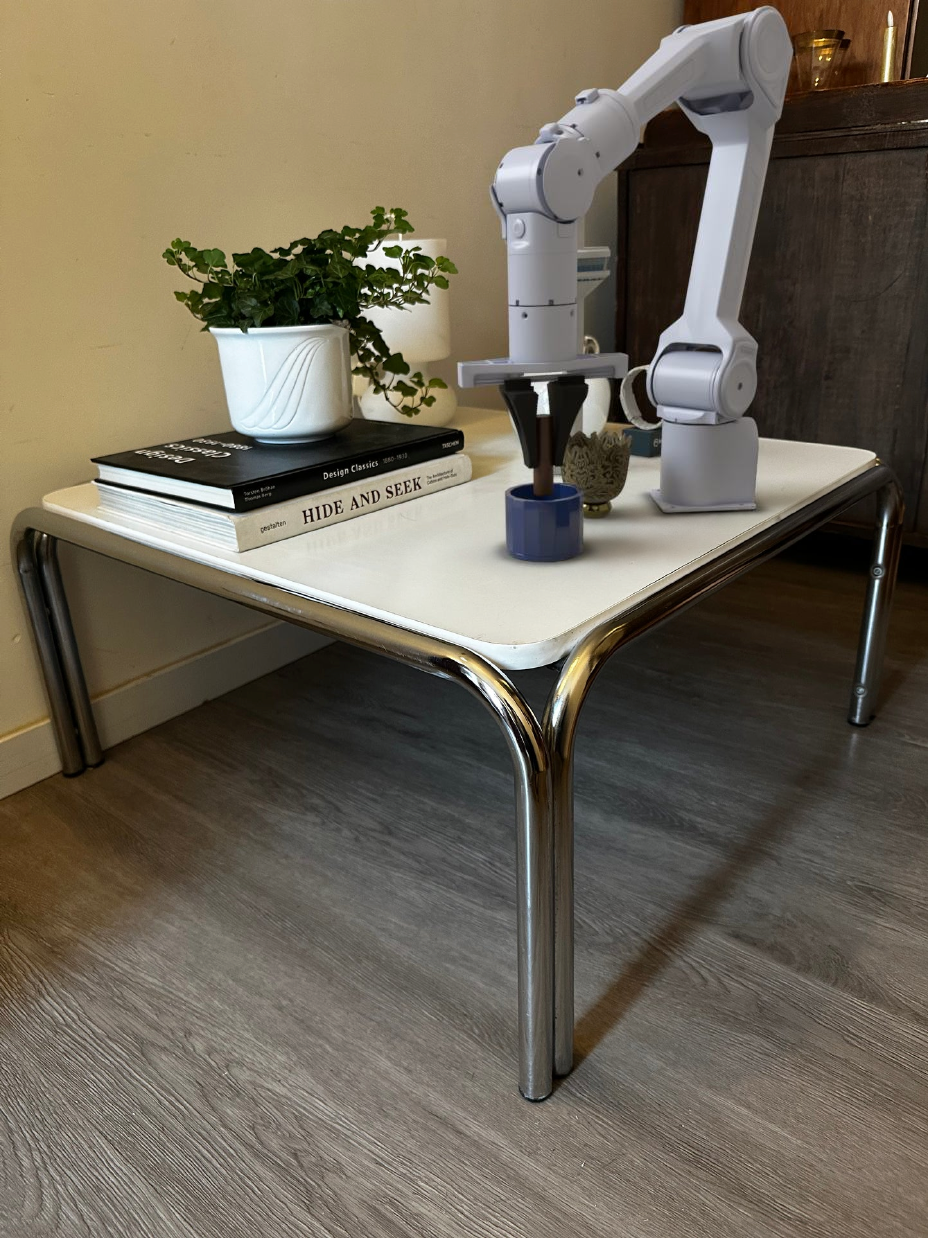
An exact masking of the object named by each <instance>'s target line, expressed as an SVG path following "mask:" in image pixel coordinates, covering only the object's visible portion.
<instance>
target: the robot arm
mask: <svg viewBox="0 0 928 1238" xmlns="http://www.w3.org/2000/svg"><path fill="white" fill-rule="evenodd" d="M793 56H794V48H793V44H792V41H791V39H790V35H789V32H788V28H787V24H786V23H785V19H784V17H782V15H781V12H780V11H778V9H776V8H775V7H773V6H770V5H764V6H761V7H756V9H755V10H753V11H748V12H744V13H740V14H736V15H732V16H727V17H723V18H719V19H714V20H710V21H706V22H702V23H698V24H694V25H693V24H685V25H682V26H679V27H678V28H676V29H675V30H674V31H673V32H672V34H669V35H667V36H665V37H663V38H662V39H661V40H660V44H659V48H658V49H657V50H656V52H654V53H653V55H651V56H650V57H649V58H648V59H647V60H646V61H645V62H644V63H643V64H642V65H641V66H640V67H639V68H638V69H637V70H636V71H635V72H634V73H633V74H632V75H631V76H630V77H629V78H628V79H627V80H626V81H625V82H624V83H623V84H621V86H620V87H619V88H618V89H616V90H614V89H612V88H611V89H610V88H599V89H598V88H596V87H593V88H587V89H583V90H582V91H581V92H579V93H578V94H577V95H576V96H575V97H574V101H575V105H576V106H575V107H574V108H572V109H571V110H569V111H568V112H567V113H566V114H565V115H564V116H563V117H561V118H560V119H559V120H558V121H557V122H551V123H546V124H544V126H542V127H541V128H540V129H539V132H538V133H539V137H538V138H537V139H535V141H534V143H533V144H532V145H524V146H517V147H515V148H513V149H511V150H509V151H508V152H507V153H506V154H505V155H504V157H503V158H502V159H501V161H500V164H499V165H498V166H497V169H496V172H495V175H494V181H493V183H492V184H489V193H490V194H489V196H490V199H491V204H492V206H493V209H494V210H495V212H496V214H497V215H498V217H499V219H500V222H501V238H502V239H504V244H505V245H506V247H507V248H506V249H507V251H506V253H507V303H508V346H509V347H508V348H509V349H508V350H509V351H508V352H509V357H501V358H491V359H484V360H483V359H482V360H474V361H459V362H457V380H458V381H457V385H458V386H459V388H461V389H473V388H475V387H483V386H486V387H487V386H498V390H499V393H500V395H501V397H502V399H503V401H504V403H505V405H506V407H507V409H508V412H509V414H510V416H511V418H512V422H513V424H514V427H515V430H516V433H517V436H518V439H519V444H520V448H521V452H522V458H523V465H524V466H525V467H526V468H527V469H529V470H533V469H535V468H537V441H536V421H537V414H538V407H539V406H538V405H539V397H540V394H539V393H538V392H536V391H535V386H534V385H532V383H546V382H547V383H546V389H547V399H548V400H547V401H548V410H549V413H548V414H551V415H553V465H554V468H555V467H560V466H563V461H564V456H565V451H566V447H567V443H568V439H569V436H570V433H571V430H572V427H573V424H574V422H575V420H576V417H577V415H578V413H579V411H580V409H581V407H582V405H583V406H584V403H585V402H586V400H587V397H588V395H589V394H588V393H589V389H590V388H589V387H590V385H589V384H588V383H587V382H586V380H593V379H594V380H595V379H609V378H611V379H613V378H614V379H624V378H627V377H628V372H629V355H628V354H626V353H622V352H610V353H609V352H607V353H583V354H577V303H575V302H577V231H578V217H579V216H580V215H584V214H585V215H586V214H587V213H588V211H589V209H590V207H591V205H592V202H593V199H594V195H595V191H596V188H597V186H598V185H599V184H600V183H601V181H603V179H605V178H606V177H607V176H608V175H610V174H611V173H612V172H613V171H614V170H615V169H616V168H618V166H619V165H620V164H622V163H623V162H624V161H625V160H627V158H629V157H630V156H631V155H632V154H633V153H634V152H635V150H636V149H637V147H638V145H639V142H640V137H641V127H643V126H644V125H646V124H647V123H648V122H650V121H651V120H652V119H653V118H655V117H656V116H657V115H658V114H660V113H661V112H662V111H664V110H665V109H666V108H667V107H669V106H671V105H672V104H673V103H674V102H676V103H677V105H678V106H679V107H680V109H681V110H682V111H683V112H684V114H685V115H686V116H687V118H688V119H689V121H690V122H691V123H692V124H693V126H694V127H695V129H696V130H697V131H698V132H701V133H703V134H705V135H707V136H708V137H709V139H710V141H711V143H712V151H711V157H710V163H709V168H708V173H707V179H706V186H705V190H704V196H703V202H702V208H701V213H700V218H699V224H698V231H697V236H696V241H695V246H694V253H693V258H692V263H691V264H692V265H691V270H690V274H689V280H688V286H687V292H686V297H685V302H684V308H683V314H682V315H681V316H680V317H679V318H678V319H677V320H676V321H674V322H673V323H672V324H671V325H670V326H669V327H667V328H666V329H665V330H664V331H663V332H662V333H661V334H660V336H659V341H658V346H657V349H656V353H655V354H654V357H653V359H652V361H651V362H650V364H649V365H650V367H649V370H648V374H647V373H646V382H645V383H646V384H645V385H646V393H647V397H648V399H649V401H650V403H651V405H652V406H653V407H655V408H656V417H657V418H663V421H662V446H661V454H660V473H659V474H660V475H659V488H658V489H657V488H655V489H653V488H652V489H650V490H649V495H650V496H651V498H652V499H653V500H654V502H655V503H656V504H657V505H658V507H659V508H660V510H661V511H662V512H663V513H689V512H690V513H691V512H693V513H694V512H717V511H718V512H719V511H742V510H755V509H757V503H755V497H756V488H757V487H756V485H757V473H758V464H759V463H758V462H759V448H760V446H759V444H760V443H759V441H760V440H759V430H758V426H757V424H756V420H755V419H754V418H753V417H750V416H743V415H744V413H745V412H746V411H747V409H748V408H749V407H750V405H751V403H752V402H753V400H754V398H755V396H756V395H755V394H756V391H757V386H758V374H757V354H758V349H759V344H758V343H757V341H756V339H755V338H754V337H753V336H752V335H751V334H750V333H749V332H748V330H747V329H745V327H743V325H742V324H741V323H740V322H739V316H740V310H741V306H742V300H743V295H744V289H745V284H746V279H747V275H748V268H749V263H750V259H751V254H752V248H753V243H754V238H755V232H756V227H757V222H758V219H759V218H758V217H759V211H760V207H761V201H762V196H763V192H764V191H763V190H764V187H765V180H766V176H767V170H768V165H769V161H770V154H771V149H772V146H773V145H772V144H773V138H774V134H775V126H776V123H777V122H778V121H779V120H780V119H781V118H782V117H781V116H782V113H783V112H782V111H783V107H784V102H785V96H786V92H787V86H788V81H789V77H790V76H789V75H790V70H791V65H792V61H793ZM698 349H712V350H713V349H715V350H720V351H721V352H718V351H717V352H716V351H704V350H703V351H702V350H698ZM563 371H566V372H567V373H568V374H562V372H563ZM551 373H553V374H551ZM525 374H535V375H525ZM537 374H538V375H537Z"/></svg>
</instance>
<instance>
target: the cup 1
mask: <svg viewBox="0 0 928 1238" xmlns="http://www.w3.org/2000/svg"><path fill="white" fill-rule="evenodd" d="M504 516H505V518H504V519H505V547H506V554H508V555H509V556H510V557H512V558H515V559H518V560H521V561H525V562H526V561H527V562H535V563H548V562H549V563H550V562H559V561H565V560H569V559H572V558H575V557H578V556H579V555H580V554H582V552H583V551H584V549H583V547H584V519H585V518H584V492H583V490H582V488H580V487H578V486H575V485H572V484H566V483H563V482H557V481H556V482H555V481H554V493H553V494H552V495H550V496H537V495H534V486H533V482H527V483H521V484H518V485H517V484H516V485H514V486H511V487H509V488H507V489H506V490H504Z"/></svg>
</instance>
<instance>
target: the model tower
mask: <svg viewBox="0 0 928 1238" xmlns="http://www.w3.org/2000/svg"><path fill="white" fill-rule="evenodd" d="M585 218H586V214H584V215H580V216H579V217H578V231H577V302H575V303H577V354H584V349H585V348H584V342H585V341H584V337H585V333H584V332H585V326H584V325H585V298H586V297H587V296H588V295H590V293H592V292H593V291H594V290H595V289H596V288H597V287H598V286H600V284H601V283H603V281H604V280H606V279H607V277H609V276H610V275H611V270H610V269H608V265H609V261H610V257H611V249H610V247H609V246H585V238H586V237H585V235H586V234H585V230H586V228H585V226H586V225H585V223H586V219H585ZM561 374H568V373H567V372H566V371H563V372H561ZM578 431H581V432H583V433H584V404H583V405H582V407H581V409H580V411H579V413H578V415H577V417H576V420H575V422H574V424H573V427H572V430H571V433H570V435H571V437H572V436H573V435H574V434H575V433H576V432H578ZM554 475H561V468H560V467H555V466H554Z"/></svg>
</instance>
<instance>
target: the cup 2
mask: <svg viewBox="0 0 928 1238" xmlns="http://www.w3.org/2000/svg"><path fill="white" fill-rule="evenodd" d="M597 433H598V432H597V430H595V431H592V432H591V433H590V435H589V436H588V435H587V434H586V433H584V431H583V432H581V431H578V432H576V433H575V434H574V435H573V436H572V437H571V435H570V436H569V439H568V443H567V447H566V451H565V456H564V461H563V466H560V468H561V474H560V475H561V481H562V483H566V484H572V485H575V486H578V487H580V488H582V490H583V492H584V517H585V518H592V519H596V518H603V517H606V516H608V515H610V513H611V511H612V509H613V504H612V502H611V501H613V500H614V499H616V498H617V497H618V496H619V495H620V494H621V493H622V492H623V490H624V488H625V485H626V482H627V478H628V474H629V473H628V472H629V465H630V460H631V459H630V458H631V455H630V452H631V446H632V435H631V436H629V437H628V438H627V439H626V434H625V433H624V435H623V437H622V436H621V438H620V437H619V435H618V433H617V432H616V431H613V432H612V433H610V432H609V431H608V430H605V431H604V432H603V433H602V434H601V435H600V437H598V434H597Z"/></svg>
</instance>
